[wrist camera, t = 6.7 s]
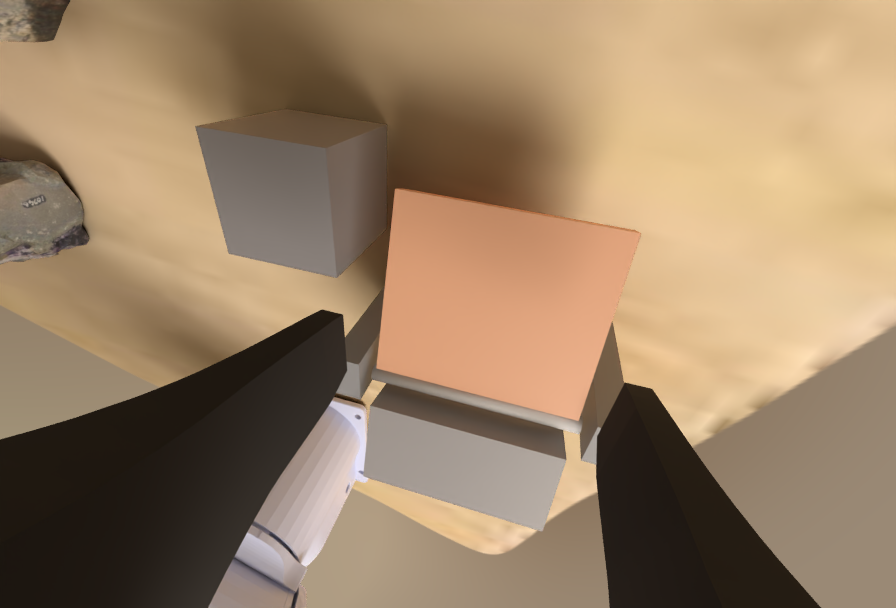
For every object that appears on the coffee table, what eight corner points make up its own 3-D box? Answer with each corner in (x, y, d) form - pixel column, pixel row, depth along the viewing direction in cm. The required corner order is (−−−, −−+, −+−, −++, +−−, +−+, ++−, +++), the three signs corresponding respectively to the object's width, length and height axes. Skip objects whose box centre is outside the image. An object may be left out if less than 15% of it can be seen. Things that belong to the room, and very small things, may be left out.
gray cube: (386, 228, 19) (336, 277, 15) (300, 211, 20) (228, 253, 15) (387, 124, 16) (325, 148, 12) (286, 108, 17) (195, 126, 13)
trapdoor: (550, 488, 17) (552, 534, 15) (376, 438, 18) (354, 473, 16) (635, 228, 13) (655, 238, 11) (404, 186, 14) (380, 188, 12)
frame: (596, 360, 20) (609, 476, 14) (392, 312, 22) (335, 400, 16) (612, 322, 18) (633, 436, 13) (393, 274, 20) (330, 357, 15)
